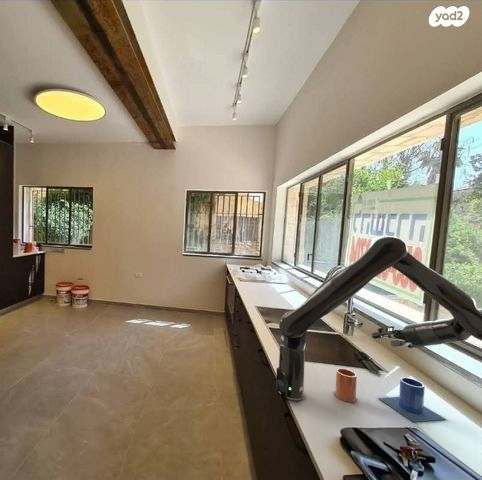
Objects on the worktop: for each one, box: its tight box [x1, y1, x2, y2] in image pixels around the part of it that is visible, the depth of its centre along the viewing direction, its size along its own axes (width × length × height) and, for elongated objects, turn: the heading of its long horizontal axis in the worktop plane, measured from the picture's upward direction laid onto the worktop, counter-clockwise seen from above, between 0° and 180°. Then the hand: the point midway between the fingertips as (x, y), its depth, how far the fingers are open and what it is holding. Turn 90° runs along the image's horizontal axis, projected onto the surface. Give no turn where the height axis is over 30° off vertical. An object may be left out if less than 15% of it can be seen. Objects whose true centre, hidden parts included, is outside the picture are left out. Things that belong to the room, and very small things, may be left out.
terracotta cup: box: [334, 367, 358, 403], centre depth 107 cm, size 7×7×10 cm
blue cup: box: [398, 376, 426, 414], centre depth 100 cm, size 7×7×10 cm
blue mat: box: [378, 396, 446, 423], centre depth 101 cm, size 13×13×1 cm
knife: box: [354, 350, 381, 375], centre depth 136 cm, size 25×6×1 cm, turn 154°
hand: (382, 339), depth 107 cm, fingers open, 8 cm apart
